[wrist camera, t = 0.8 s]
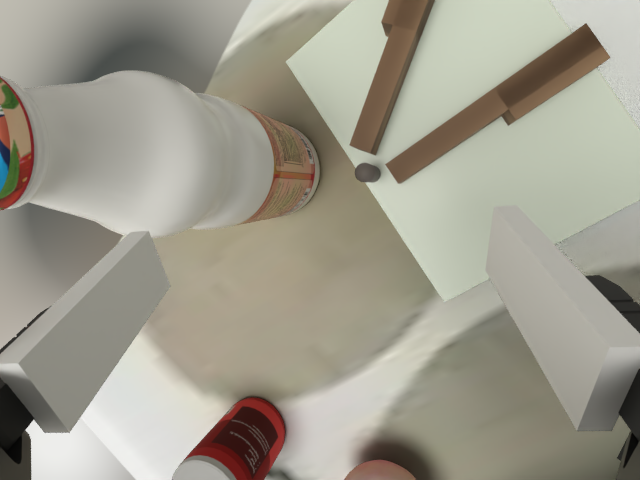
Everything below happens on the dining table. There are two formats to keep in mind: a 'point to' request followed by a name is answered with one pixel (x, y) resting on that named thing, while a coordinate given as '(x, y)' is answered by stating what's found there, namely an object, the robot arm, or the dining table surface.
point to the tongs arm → (390, 69)
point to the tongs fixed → (501, 103)
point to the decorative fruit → (379, 471)
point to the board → (486, 145)
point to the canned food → (237, 445)
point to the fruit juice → (149, 155)
